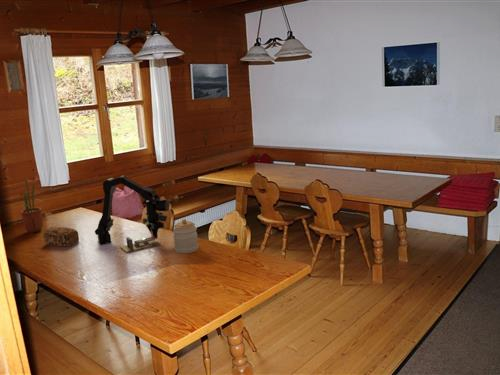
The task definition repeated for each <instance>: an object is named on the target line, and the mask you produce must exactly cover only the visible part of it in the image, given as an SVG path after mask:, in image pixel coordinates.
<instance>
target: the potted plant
mask: <svg viewBox="0 0 500 375" xmlns="http://www.w3.org/2000/svg"><path fill="white" fill-rule="evenodd" d="M28 181H29V182H30V180H29V179H25V185H24V187H26V191H25V192H23V197H22V198H20V199H19V202H20V203H22V201H24V206H23V209H21V210H20V211H19V212H20V215H21V217H22V222H23V227H24V229H25V230H26V231H27V232H28V233H31V234H34V232H35V233H37V232H39V231H41V230H42V228H43V225H44V224H43V221H44V220H43V215H42V214H43V213H42V210H43V208H42V207H35V200H36V201H40V202H42V200H41V199H38V198H35V192H37V190H36V189H35V188H36V187H35V184H32V188H31V190H32V191H31V195H30V190H29V188H30V187H31V186H30V185H29V184H28ZM31 199H32V203H31Z"/></svg>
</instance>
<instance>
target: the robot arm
mask: <svg viewBox="0 0 500 375" xmlns="http://www.w3.org/2000/svg"><path fill="white" fill-rule="evenodd" d="M120 184H121V185H123V186H125V187H126V188H129V190H132V191H134V192H136V193H137V194H139V195H140V197H141V198H142V199H143V202H141V205H145V209H146V212H145V216H146V217H144V218H143V219H142V224H144V225H145V226H146V228H147V229H148V231H149V233H150V234H151V231H152V233H153V235H154V237H155V238H156V237H157V234H158V232H159V230H160V229H162V228H163V229H164V228H165V225H164V223H163V222H167V220H168V215H166V214H164V213H163V212H169V211H170V206H171V205H170V203H169V201H168V199H167V198H165V199H161V197H160V196H159V195H158V194H157V191H156V190H155V189H154V188H151V187H148V186H143V185H141V184H140V183H138V182H136V181H134V180H132V179H130V178H128V177H127V176H126V175H121V176H118V177H116V178H115V177H111V178H108V179H105V180H103V182H102V190H103V194H104V195H103V196H104V197H103V204H102V205H103V206H102V214H101V217H100V219H99V221H98V224H97V228H96V229H95V230H94V234H95V235H96V236H97V239H98V240H97V243H98V244H99V245H105V244H110V243H112V237H111V233H110V231H111V228H112V227H113V226H114V218H112V217H111V214H112V205H113V198H114V197H113V196H114V194H115V191H116V190H117V186H118V185H120ZM162 221H163V222H162Z"/></svg>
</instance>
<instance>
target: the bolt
mask: <svg viewBox="0 0 500 375" xmlns="http://www.w3.org/2000/svg"><path fill="white" fill-rule="evenodd" d="M150 235H151V236H150V237H146V238H140V239H137V240H134V241H133V242H134V243H135V244H139V243H143V242H147V241H152V240H156V241H157V239H159V237H158V233H157V237H156V238H155V237H154V235H153V233H152V231H151V233H150ZM134 243H133V244H134Z"/></svg>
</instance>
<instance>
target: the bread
mask: <svg viewBox="0 0 500 375" xmlns="http://www.w3.org/2000/svg"><path fill="white" fill-rule="evenodd" d="M42 238H43V242H44V244H45V245H47V246H48V245H50V246H56V247H63V246H65V247H69V246H72V245H73V244H77V243H78V242H79V241H80V236H79V232H78V230H76V229H74V228H70V227H67V226H66V227H65V226H58V227H57V226H53V227H52V226H51V227H48V228H46V229H44V231H43V235H42Z"/></svg>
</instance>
